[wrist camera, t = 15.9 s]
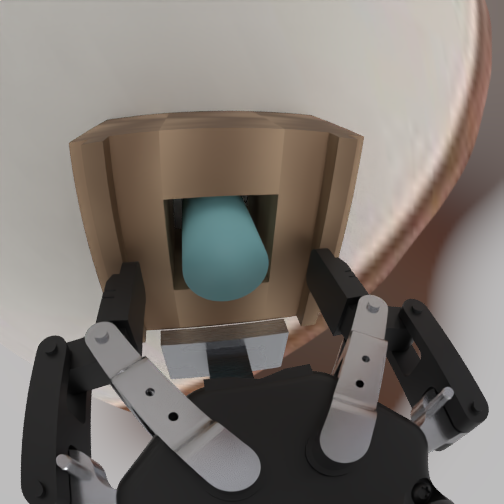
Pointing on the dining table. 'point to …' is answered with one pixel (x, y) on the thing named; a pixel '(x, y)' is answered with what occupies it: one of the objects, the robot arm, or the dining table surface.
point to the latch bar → (224, 349)
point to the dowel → (221, 248)
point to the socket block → (209, 185)
